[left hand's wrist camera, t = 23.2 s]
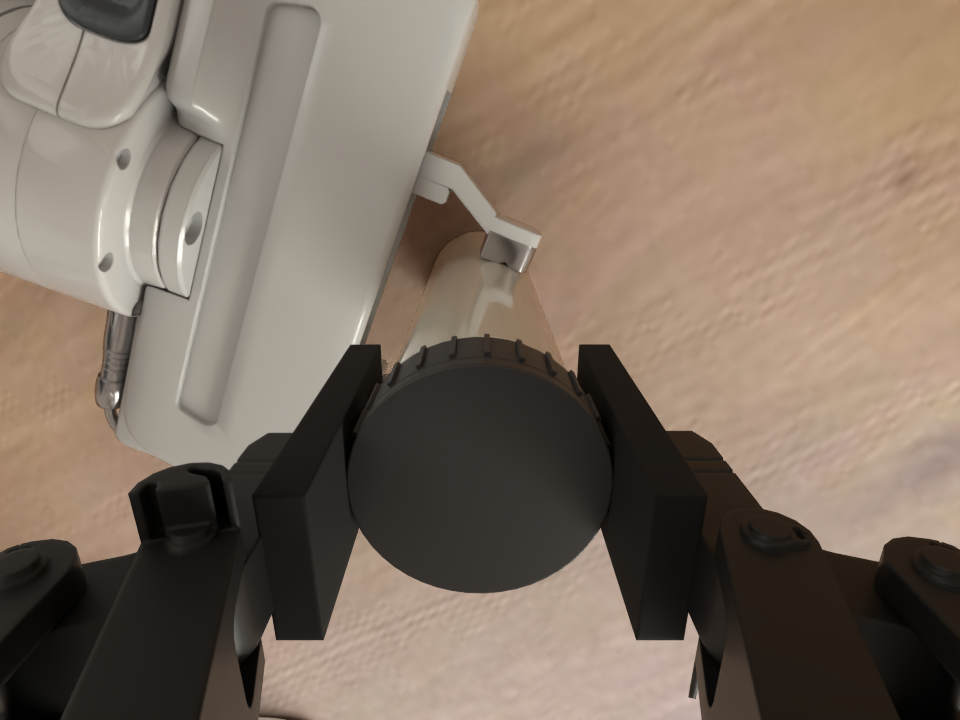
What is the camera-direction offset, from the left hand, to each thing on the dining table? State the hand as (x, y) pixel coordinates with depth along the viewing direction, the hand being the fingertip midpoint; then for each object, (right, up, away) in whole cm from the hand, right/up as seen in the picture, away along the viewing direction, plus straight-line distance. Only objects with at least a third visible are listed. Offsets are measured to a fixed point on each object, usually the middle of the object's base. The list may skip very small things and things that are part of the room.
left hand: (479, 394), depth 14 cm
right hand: (+1, +2, +7) cm, 7 cm away
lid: (0, -1, -4) cm, 4 cm away
